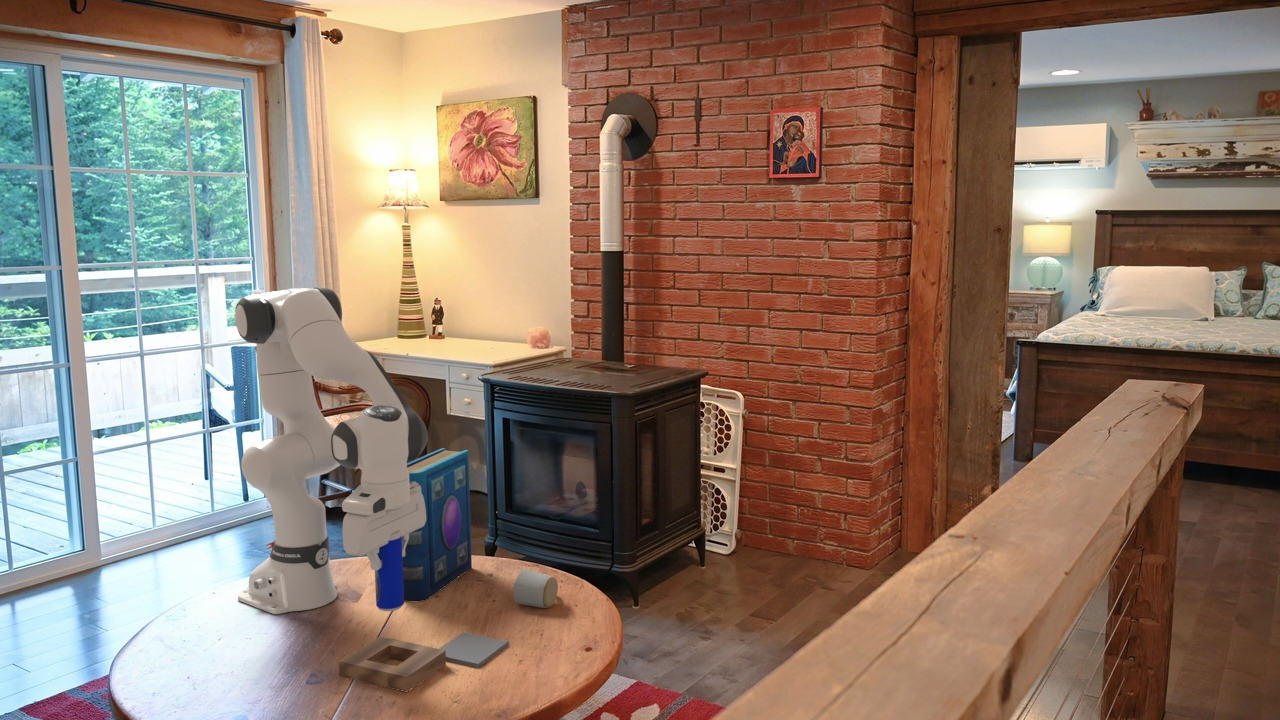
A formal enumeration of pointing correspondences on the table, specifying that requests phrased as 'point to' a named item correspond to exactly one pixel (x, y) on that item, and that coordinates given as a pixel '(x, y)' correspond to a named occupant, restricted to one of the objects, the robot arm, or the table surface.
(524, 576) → the ceramic mug
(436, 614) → the table surface
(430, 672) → the walnut caddy
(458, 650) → the rubber mat
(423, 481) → the book
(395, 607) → the beverage can
